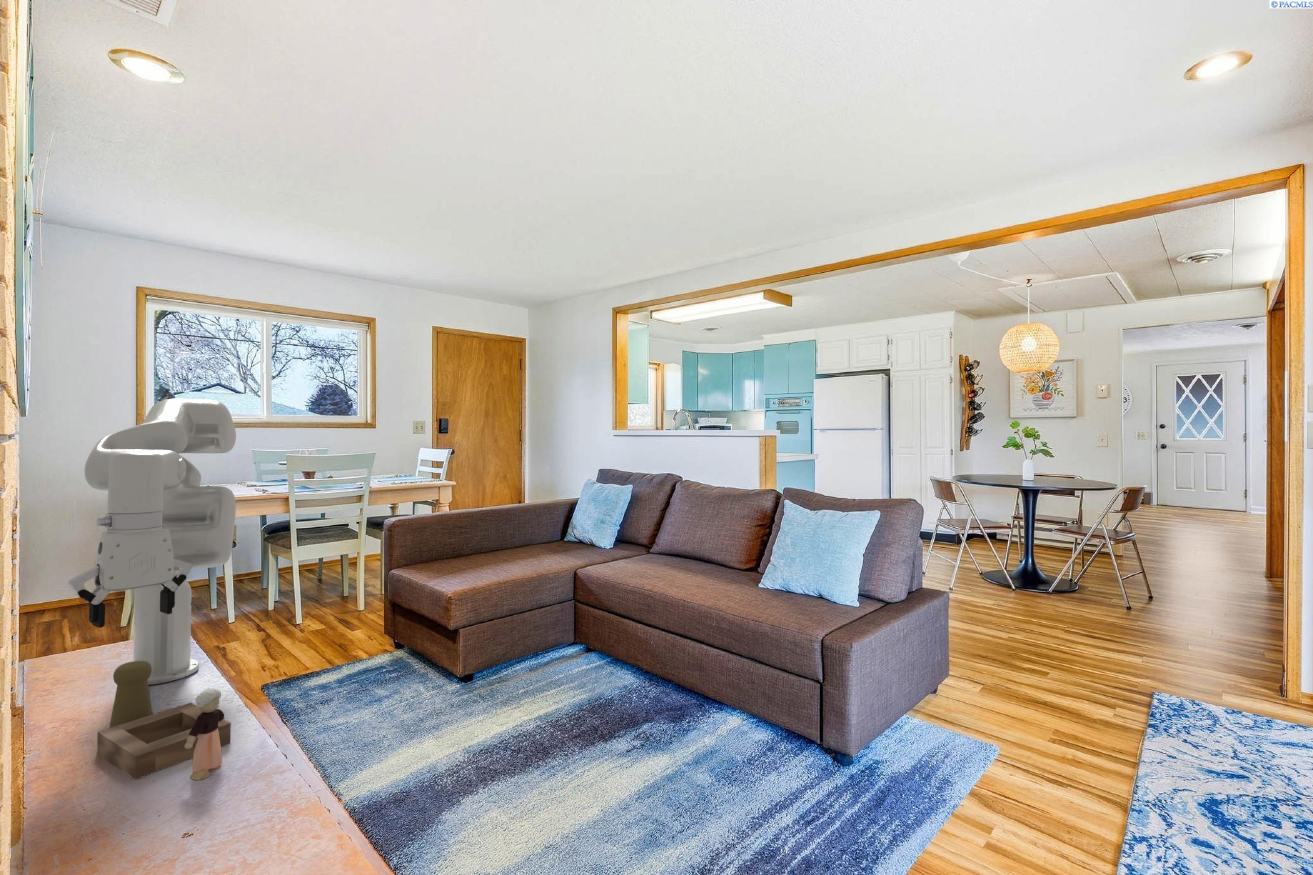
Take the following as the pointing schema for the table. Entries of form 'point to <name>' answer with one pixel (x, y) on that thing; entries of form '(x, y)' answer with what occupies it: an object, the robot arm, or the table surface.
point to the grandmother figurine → (206, 735)
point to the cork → (131, 692)
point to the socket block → (153, 741)
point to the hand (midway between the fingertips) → (133, 619)
